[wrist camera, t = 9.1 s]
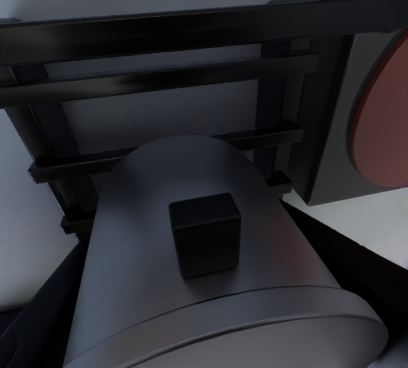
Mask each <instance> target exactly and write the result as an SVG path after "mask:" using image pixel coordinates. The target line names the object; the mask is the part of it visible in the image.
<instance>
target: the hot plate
mask: <svg viewBox="0 0 408 368" xmlns="http://www.w3.org/2000/svg"><path fill="white" fill-rule="evenodd" d="M350 152H351V158H352V161H353V163H354V166H355V168H356V169H357V171H358V172H359V173H360V174H361V175H362V176H363V177H364V178H366V179H367V180H369V181H370V182H372V183H374V184H377V185H381V186H388V187H397V186H404V185H408V30H407V31H406V32H405V33H404V34H403V35H402V36H401V38H400V39H399V40H398V41H397V42H396V44H395V45H394V46H393V47H392V48H391V50H390V51H389V52H388V54H387V55H386V57H385V58H384V59H383V61H382V62H381V64H380V65H379V66H378V68H377V70H376V71H375V73H374V75H373V76H372V78H371V80H370V81H369V83H368V85H367V87H366V89H365V91H364V93H363V95H362V97H361V99H360V102H359V105H358V107H357V110H356V112H355V116H354V120H353V123H352V127H351V134H350Z"/></svg>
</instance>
